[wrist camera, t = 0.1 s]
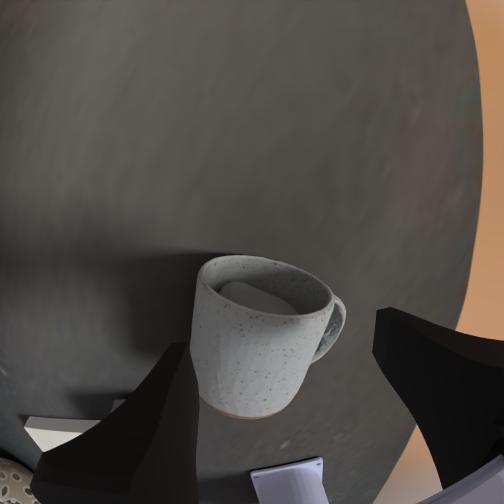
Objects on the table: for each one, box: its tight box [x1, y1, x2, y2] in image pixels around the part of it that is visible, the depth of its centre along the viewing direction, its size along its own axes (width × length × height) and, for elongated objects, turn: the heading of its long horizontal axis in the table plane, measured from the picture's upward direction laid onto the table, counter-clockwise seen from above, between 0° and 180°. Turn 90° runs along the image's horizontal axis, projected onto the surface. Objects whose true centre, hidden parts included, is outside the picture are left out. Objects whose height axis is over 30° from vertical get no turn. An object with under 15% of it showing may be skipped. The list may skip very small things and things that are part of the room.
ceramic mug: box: [190, 255, 346, 419], centre depth 18 cm, size 11×8×8 cm
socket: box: [24, 416, 101, 452], centre depth 24 cm, size 12×12×2 cm
